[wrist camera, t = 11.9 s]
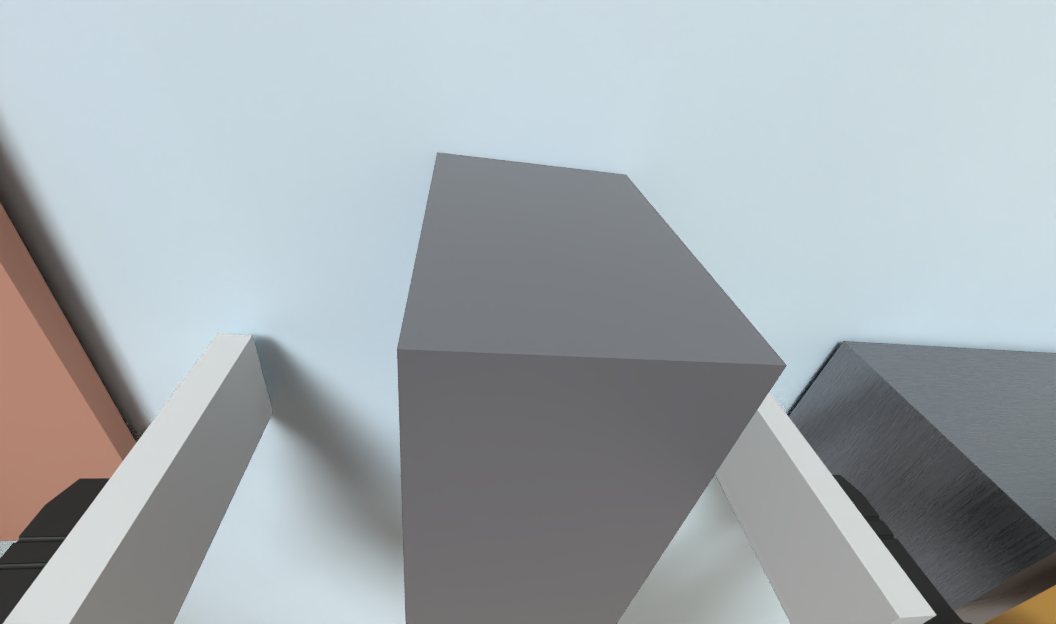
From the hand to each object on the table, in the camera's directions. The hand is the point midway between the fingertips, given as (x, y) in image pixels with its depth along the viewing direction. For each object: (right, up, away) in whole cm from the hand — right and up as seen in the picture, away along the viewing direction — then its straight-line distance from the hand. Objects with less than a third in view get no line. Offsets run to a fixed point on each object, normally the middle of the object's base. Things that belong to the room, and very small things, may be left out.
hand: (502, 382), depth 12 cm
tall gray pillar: (0, 0, 0) cm, 0 cm away
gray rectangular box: (+15, -1, +3) cm, 15 cm away
